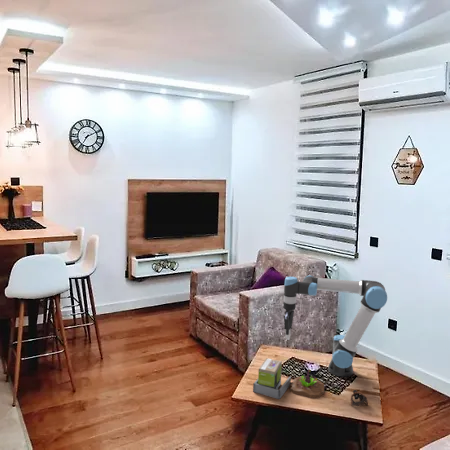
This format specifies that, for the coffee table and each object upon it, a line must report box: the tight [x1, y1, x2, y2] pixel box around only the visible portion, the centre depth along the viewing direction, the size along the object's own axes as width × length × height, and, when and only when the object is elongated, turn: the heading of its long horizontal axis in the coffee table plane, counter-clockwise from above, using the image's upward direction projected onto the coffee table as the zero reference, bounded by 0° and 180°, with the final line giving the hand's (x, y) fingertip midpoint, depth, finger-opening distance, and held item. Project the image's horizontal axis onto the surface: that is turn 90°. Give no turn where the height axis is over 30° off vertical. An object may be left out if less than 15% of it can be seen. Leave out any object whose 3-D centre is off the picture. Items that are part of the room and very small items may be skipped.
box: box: [252, 375, 292, 400], centre depth 266 cm, size 16×19×5 cm
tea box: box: [257, 357, 282, 390], centre depth 265 cm, size 15×10×15 cm
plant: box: [288, 368, 325, 399], centre depth 267 cm, size 20×20×11 cm
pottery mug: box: [350, 389, 369, 407], centre depth 253 cm, size 12×10×8 cm
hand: (287, 338), depth 283 cm, fingers closed
